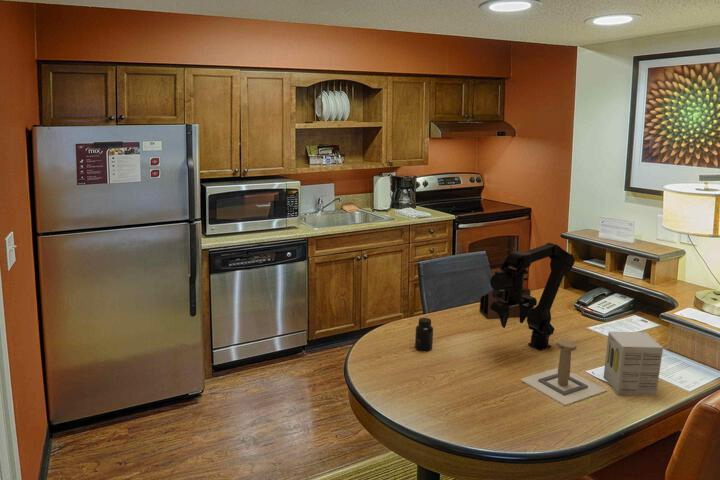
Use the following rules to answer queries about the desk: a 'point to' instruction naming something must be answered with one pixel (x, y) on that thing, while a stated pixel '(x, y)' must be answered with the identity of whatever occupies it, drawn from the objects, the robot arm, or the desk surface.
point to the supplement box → (633, 363)
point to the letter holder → (488, 299)
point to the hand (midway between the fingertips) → (512, 325)
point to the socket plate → (562, 387)
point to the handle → (565, 361)
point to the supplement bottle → (424, 335)
